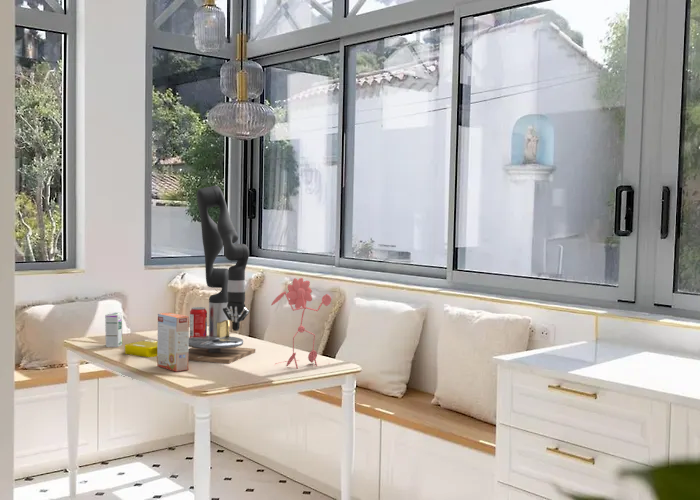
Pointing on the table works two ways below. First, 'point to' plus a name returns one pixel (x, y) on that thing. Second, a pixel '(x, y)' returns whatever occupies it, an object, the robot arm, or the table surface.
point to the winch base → (219, 354)
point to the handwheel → (217, 339)
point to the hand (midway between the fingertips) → (235, 330)
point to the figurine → (299, 297)
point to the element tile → (142, 348)
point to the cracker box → (173, 341)
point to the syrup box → (113, 329)
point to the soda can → (198, 322)
